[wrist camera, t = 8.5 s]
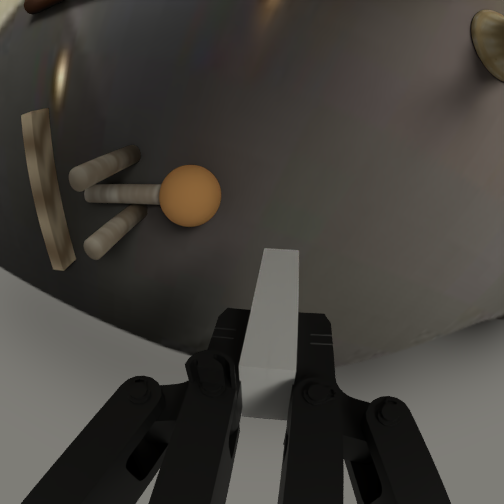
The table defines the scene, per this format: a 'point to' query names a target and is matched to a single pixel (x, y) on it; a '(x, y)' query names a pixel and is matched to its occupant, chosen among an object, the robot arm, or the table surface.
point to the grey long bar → (46, 187)
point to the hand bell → (489, 40)
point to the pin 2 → (114, 230)
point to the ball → (190, 195)
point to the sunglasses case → (39, 5)
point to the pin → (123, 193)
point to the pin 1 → (103, 167)
